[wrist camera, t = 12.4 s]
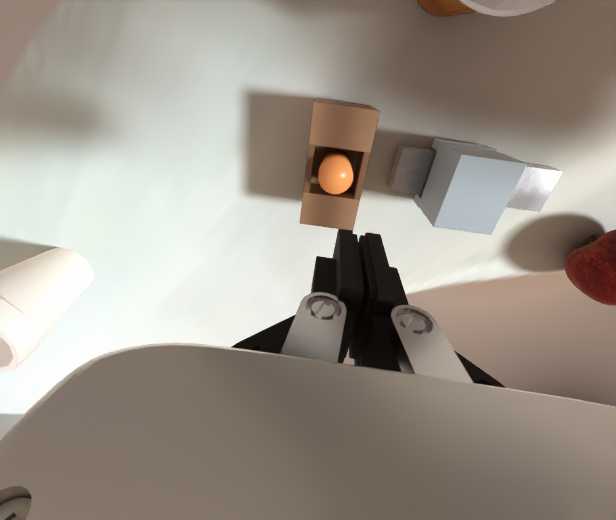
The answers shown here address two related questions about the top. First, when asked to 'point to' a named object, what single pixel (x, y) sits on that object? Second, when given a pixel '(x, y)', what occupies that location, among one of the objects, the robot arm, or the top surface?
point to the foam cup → (37, 300)
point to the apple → (595, 268)
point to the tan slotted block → (343, 137)
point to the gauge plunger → (335, 172)
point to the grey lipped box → (468, 186)
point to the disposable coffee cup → (483, 6)
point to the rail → (418, 162)
